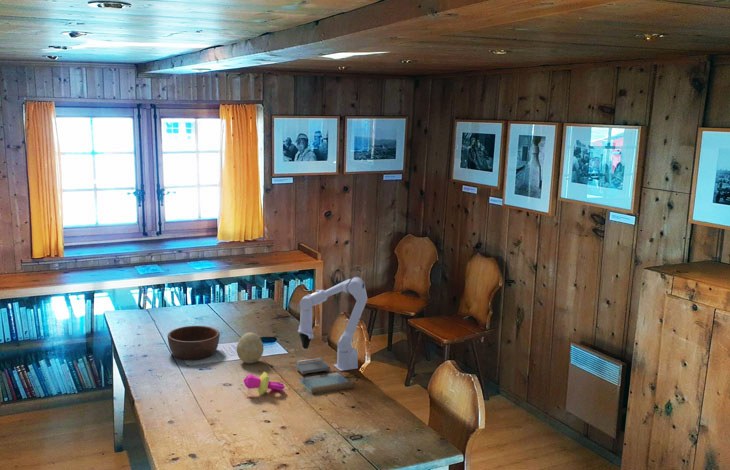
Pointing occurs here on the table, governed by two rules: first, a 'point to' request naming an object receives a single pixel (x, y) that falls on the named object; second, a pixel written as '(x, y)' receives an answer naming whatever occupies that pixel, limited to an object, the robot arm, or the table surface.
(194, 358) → the wooden bowl
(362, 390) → the table surface
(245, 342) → the fossilized egg
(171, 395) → the table surface
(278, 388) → the toy
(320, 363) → the cabinet door with handle
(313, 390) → the dock bay
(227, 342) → the table surface
